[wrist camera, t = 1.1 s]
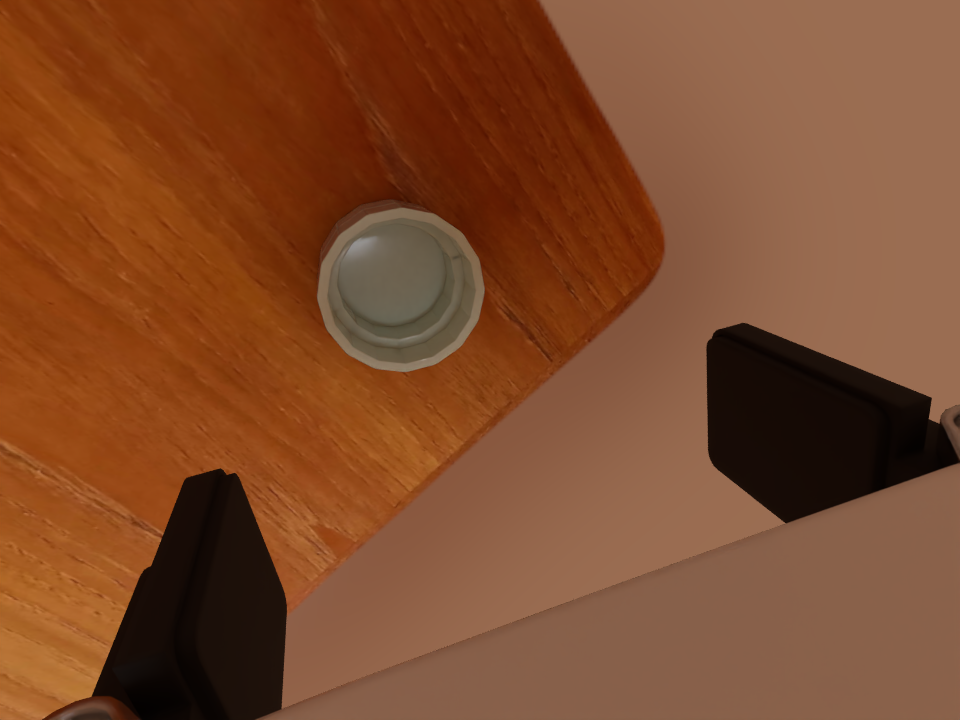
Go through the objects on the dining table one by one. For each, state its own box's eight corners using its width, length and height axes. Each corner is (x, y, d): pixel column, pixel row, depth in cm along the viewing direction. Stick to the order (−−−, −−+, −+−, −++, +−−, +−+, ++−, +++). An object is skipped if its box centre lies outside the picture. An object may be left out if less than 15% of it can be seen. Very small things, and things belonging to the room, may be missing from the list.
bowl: (445, 185, 27) (468, 193, 23) (470, 320, 30) (495, 348, 25) (299, 216, 26) (296, 229, 22) (339, 353, 28) (343, 389, 24)
